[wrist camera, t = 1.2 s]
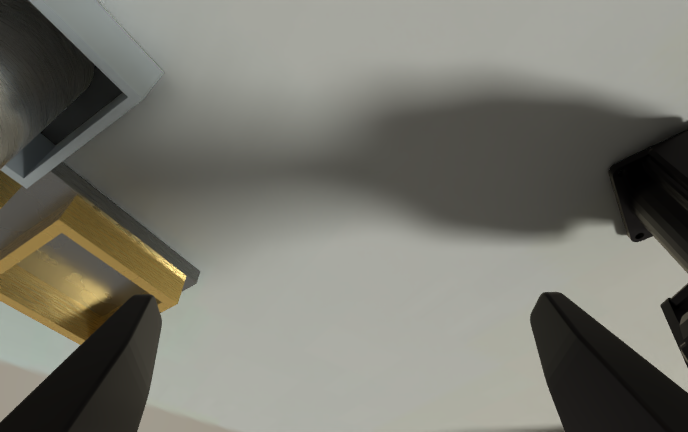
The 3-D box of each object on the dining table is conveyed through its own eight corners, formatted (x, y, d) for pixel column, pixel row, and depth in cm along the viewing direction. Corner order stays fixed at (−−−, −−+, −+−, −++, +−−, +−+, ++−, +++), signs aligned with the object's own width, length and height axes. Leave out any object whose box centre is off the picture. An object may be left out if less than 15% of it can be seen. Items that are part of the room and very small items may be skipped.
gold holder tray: (200, 271, 28) (188, 308, 25) (95, 329, 31) (77, 367, 28) (-117, 21, 18) (-183, 43, 15) (-222, 142, 21) (-291, 177, 19)
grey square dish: (164, 72, 20) (143, 99, 17) (57, 155, 22) (26, 188, 20) (1, -102, 16) (-56, -98, 13) (-109, 22, 18) (-173, 45, 16)
